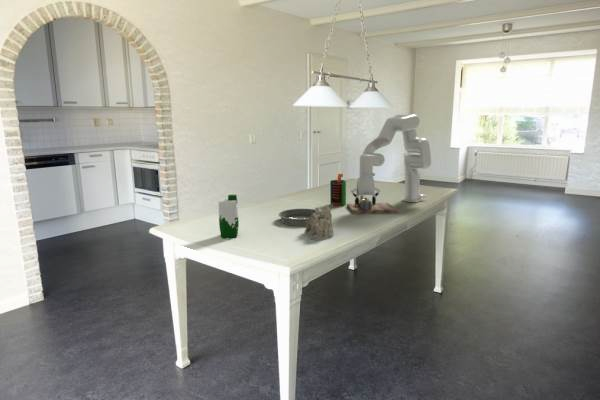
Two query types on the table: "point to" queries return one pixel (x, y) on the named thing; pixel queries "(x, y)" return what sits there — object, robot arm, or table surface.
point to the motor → (338, 191)
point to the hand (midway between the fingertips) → (365, 204)
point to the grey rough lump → (319, 225)
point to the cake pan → (296, 216)
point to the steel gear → (365, 205)
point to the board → (372, 208)
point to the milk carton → (228, 217)
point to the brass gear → (359, 202)
